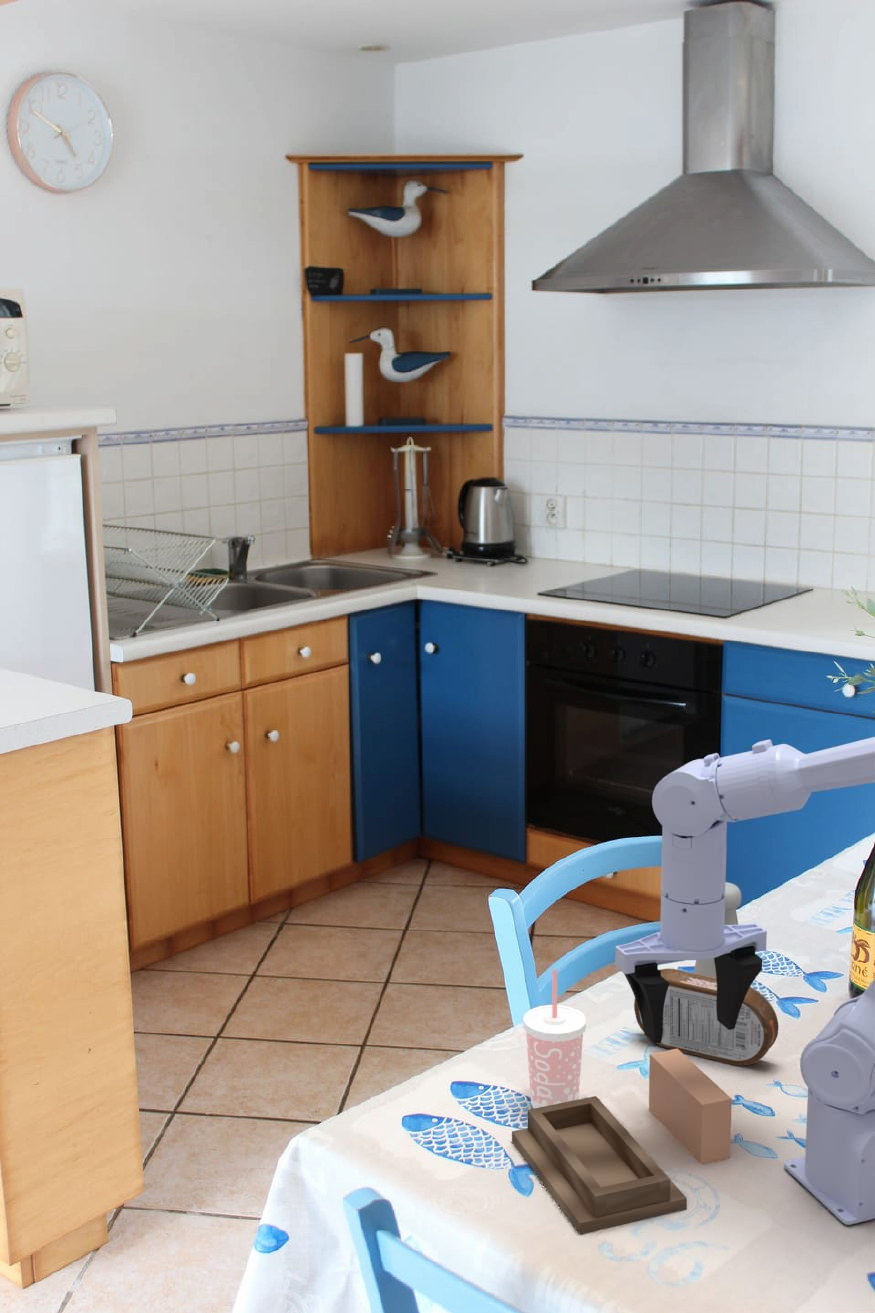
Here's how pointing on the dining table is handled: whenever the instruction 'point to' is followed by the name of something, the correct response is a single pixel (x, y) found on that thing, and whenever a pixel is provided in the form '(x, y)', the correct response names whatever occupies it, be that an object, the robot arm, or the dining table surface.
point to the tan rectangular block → (690, 1106)
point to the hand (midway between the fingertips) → (689, 1031)
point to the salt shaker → (730, 919)
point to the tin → (713, 1021)
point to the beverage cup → (554, 1051)
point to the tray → (594, 1166)
